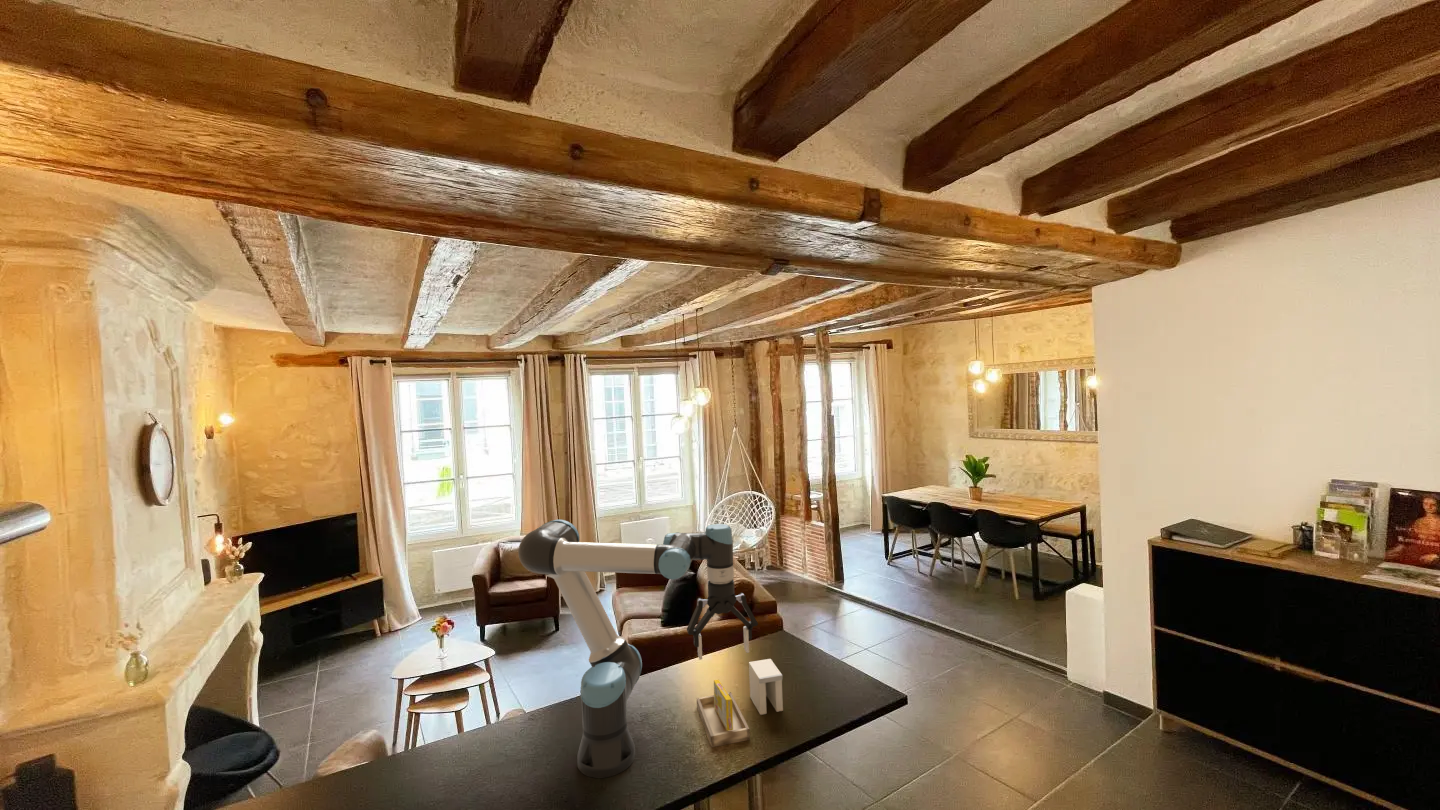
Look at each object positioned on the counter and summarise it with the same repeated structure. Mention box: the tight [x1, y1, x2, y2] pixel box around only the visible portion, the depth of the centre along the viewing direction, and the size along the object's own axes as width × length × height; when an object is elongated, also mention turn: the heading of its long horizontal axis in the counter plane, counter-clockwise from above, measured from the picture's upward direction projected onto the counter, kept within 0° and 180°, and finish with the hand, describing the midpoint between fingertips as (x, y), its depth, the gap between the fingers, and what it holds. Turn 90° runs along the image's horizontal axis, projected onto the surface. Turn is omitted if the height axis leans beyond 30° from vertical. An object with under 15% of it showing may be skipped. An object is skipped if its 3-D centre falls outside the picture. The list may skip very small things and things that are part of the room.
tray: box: [696, 691, 751, 748], centre depth 164 cm, size 11×20×3 cm, turn 14°
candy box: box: [713, 679, 733, 731], centre depth 163 cm, size 16×2×8 cm, turn 14°
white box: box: [748, 658, 784, 716], centre depth 172 cm, size 7×11×11 cm, turn 14°
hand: (723, 654), depth 159 cm, fingers open, 13 cm apart
